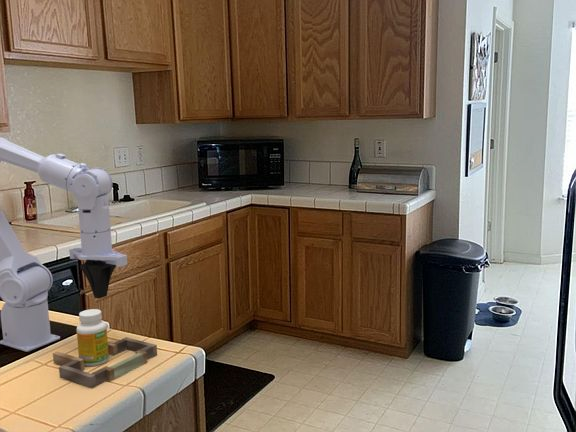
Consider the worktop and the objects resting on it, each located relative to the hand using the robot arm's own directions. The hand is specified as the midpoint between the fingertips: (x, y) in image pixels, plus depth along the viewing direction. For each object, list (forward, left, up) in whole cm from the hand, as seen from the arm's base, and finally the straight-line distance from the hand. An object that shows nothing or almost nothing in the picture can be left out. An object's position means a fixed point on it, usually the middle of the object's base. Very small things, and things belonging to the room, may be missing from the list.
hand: (100, 296), depth 112 cm
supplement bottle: (+4, -6, -11) cm, 13 cm away
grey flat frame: (+6, -6, -10) cm, 13 cm away
